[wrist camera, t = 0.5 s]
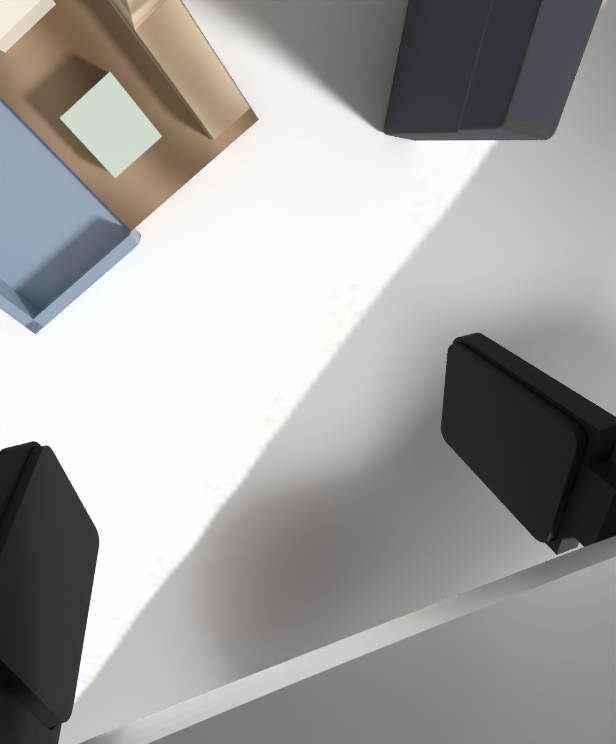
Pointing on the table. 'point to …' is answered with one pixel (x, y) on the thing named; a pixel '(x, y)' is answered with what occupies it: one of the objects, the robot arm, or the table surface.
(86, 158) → the walnut board
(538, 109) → the charcoal rectangular box
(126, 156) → the sage tile
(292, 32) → the table surface
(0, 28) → the cream tile
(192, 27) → the bent tan panel
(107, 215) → the box
